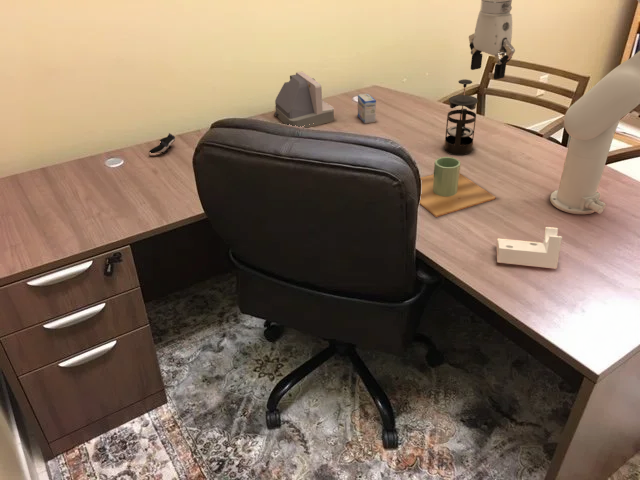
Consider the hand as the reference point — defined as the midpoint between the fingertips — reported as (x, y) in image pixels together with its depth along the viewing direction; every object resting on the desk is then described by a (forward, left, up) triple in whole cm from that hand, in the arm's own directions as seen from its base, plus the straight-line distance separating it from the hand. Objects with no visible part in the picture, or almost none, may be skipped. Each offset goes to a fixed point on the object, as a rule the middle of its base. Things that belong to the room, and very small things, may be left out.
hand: (486, 73), depth 147 cm
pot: (-6, +15, -30) cm, 34 cm away
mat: (-6, +15, -30) cm, 34 cm away
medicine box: (+54, +8, -31) cm, 63 cm away
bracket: (-41, +17, -31) cm, 54 cm away
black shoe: (+66, +82, -31) cm, 110 cm away
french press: (+16, -6, -31) cm, 35 cm away
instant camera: (+68, +28, -31) cm, 80 cm away
